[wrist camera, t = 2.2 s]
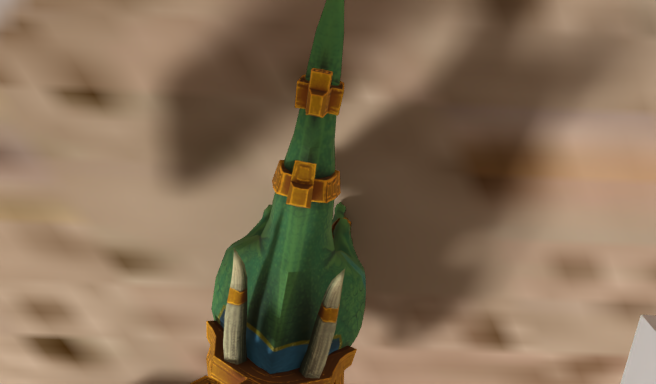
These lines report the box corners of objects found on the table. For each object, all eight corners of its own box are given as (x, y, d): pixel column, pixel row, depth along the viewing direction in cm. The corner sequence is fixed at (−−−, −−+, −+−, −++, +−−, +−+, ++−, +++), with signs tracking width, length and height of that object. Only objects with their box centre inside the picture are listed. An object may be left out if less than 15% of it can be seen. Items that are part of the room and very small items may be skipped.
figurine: (226, 398, 16) (98, 765, 8) (279, -22, 12) (116, -39, 4) (326, 417, 16) (288, 802, 8) (417, 4, 12) (508, 34, 4)
